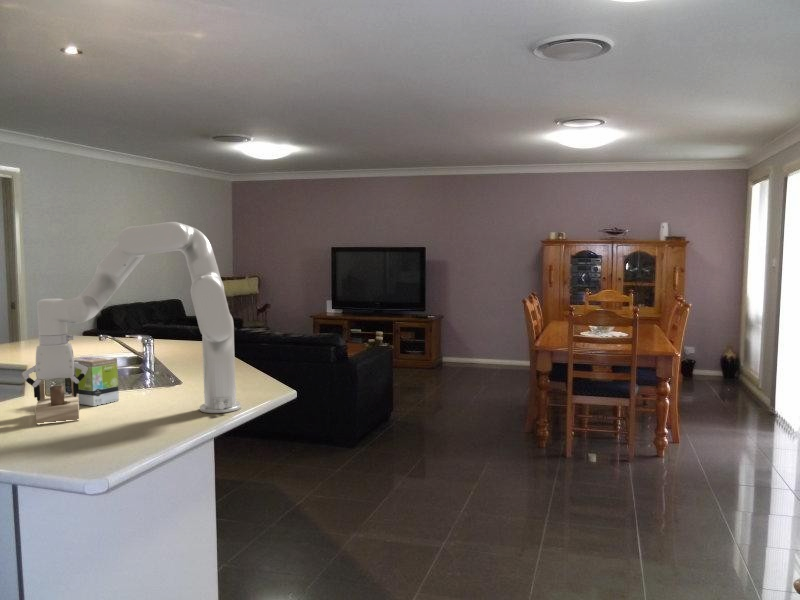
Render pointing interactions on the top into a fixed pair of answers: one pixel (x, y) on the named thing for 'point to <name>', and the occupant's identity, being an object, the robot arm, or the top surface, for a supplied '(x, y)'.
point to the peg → (57, 395)
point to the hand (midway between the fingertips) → (57, 397)
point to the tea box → (96, 380)
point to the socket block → (57, 407)
